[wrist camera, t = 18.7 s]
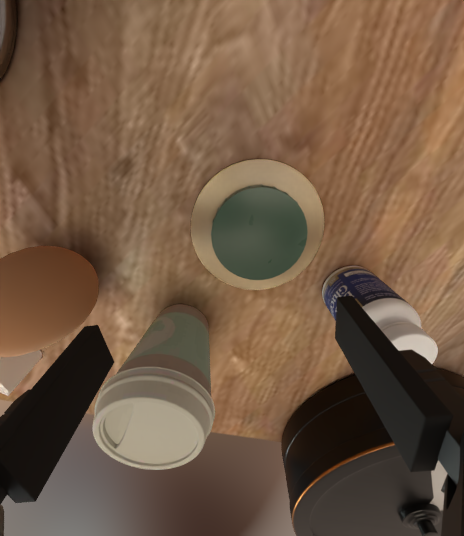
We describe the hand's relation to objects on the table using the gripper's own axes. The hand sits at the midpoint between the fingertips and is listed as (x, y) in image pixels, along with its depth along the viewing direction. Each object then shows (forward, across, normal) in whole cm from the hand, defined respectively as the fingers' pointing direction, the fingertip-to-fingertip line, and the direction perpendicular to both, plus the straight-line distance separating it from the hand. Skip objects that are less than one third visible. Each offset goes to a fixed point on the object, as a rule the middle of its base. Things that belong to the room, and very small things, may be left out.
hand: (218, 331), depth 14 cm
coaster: (+11, +3, +2) cm, 12 cm away
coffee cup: (+12, -6, -8) cm, 15 cm away
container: (+1, +18, -30) cm, 35 cm away
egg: (+12, -15, 0) cm, 19 cm away
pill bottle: (+12, +12, -5) cm, 17 cm away
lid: (+9, +3, +2) cm, 10 cm away
